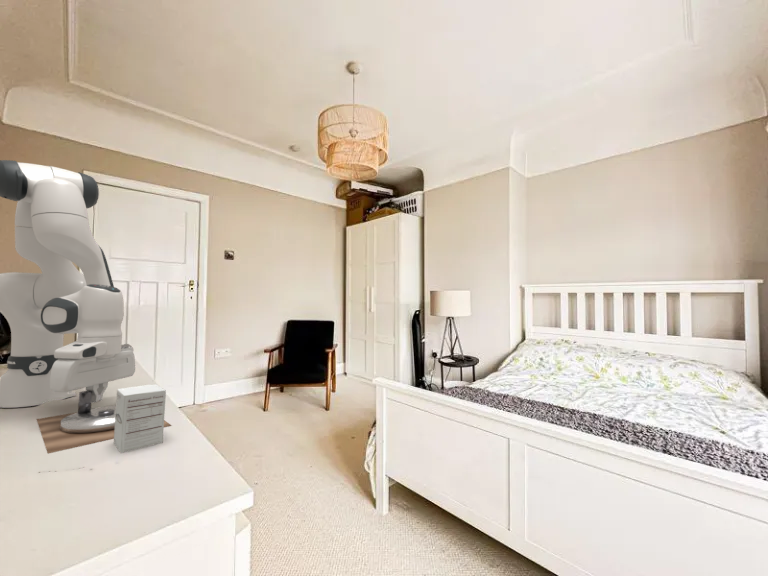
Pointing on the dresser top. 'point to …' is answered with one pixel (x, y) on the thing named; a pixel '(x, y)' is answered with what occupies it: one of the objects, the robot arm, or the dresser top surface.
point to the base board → (69, 435)
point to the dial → (89, 417)
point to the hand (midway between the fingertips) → (95, 401)
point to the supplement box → (139, 417)
